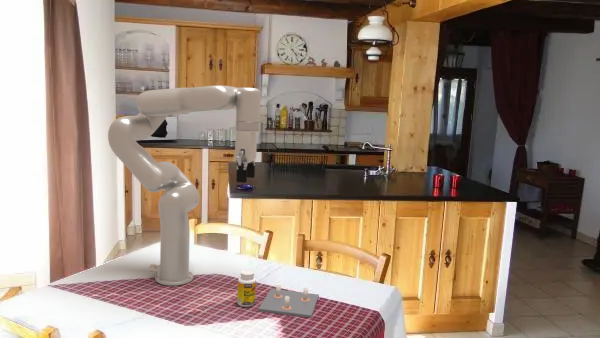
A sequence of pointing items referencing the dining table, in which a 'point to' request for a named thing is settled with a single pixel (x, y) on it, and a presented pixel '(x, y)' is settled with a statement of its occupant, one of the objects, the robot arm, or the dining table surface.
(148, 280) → the dining table surface
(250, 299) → the supplement bottle
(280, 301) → the peg board
